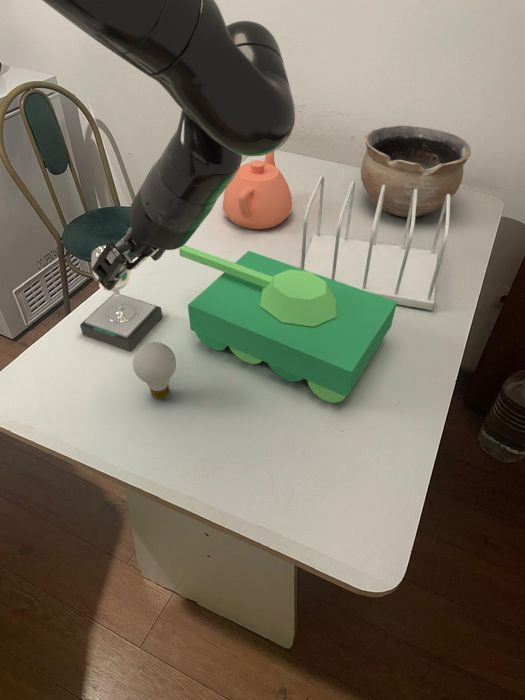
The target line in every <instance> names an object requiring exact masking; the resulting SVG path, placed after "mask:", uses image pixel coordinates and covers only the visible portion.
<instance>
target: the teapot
mask: <svg viewBox="0 0 525 700" xmlns="http://www.w3.org/2000/svg"><path fill="white" fill-rule="evenodd" d="M223 193H224V194H223V198H222V199H223V200H222V210H223V212H224V214H225V216H226V217H227V218H228V219H229V220H230V221H231V222H232V223H233V224H234V225H236V226H240V227H242V228H245V229H246V228H247V229H253V230H266V229H271V228H274V227H276V226H278V225H279V224H281V223H282V222H283V221H284V220H286V218H288V216H289V215H290V213H291V211H292V208H293V199H292V193H291V190H290V187H289V184H288V182H287V180H286V178H285V177H284V174H283V173H282V172H281V170H280V169H279V168H278V167H277V166H276V161H275V151H274V152H272V153H269V154H266V155H265V158H264V160H260V159H259V160H258V159H257V160H252V161H250V162H247V163H244V164H241V165H240V168H239V170H238V172H237V174H236V175H235V177H234V178H233V180H232V181H231V182H230V184H229V185H228V186H227V187H226V189H225V190H224V192H223Z"/></svg>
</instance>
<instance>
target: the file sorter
mask: <svg viewBox="0 0 525 700" xmlns="http://www.w3.org/2000/svg"><path fill="white" fill-rule="evenodd" d="M385 186H386V185H382V189H381V193H380V197H379V201H378V205H376V209H375V212H374V213H375V214H374V218H373V223H372V228H371V233H370V239H369V240H363V239H356V238H351V237H349V232H350V231H349V230H350V225H351V224H350V223H351V219H352V218H351V216H352V210H353V203H354V198H355V197H354V196H355V189H356V181H355V180H351V182H350V184H349V187H348V190H347V193H346V196H345V197H344V198H345V199H344V200H343V201H344V202H343V204H342V207H341V210H340V213H339V218H338V222H337V227H336V235H332V234H325V233H321V227H322V226H321V224H322V212H323V201H324V187H325V176H324V175H320V176H319V177H318V179H317V182H316V184H315V186H314V188H313V190H312V193H311V195H310V197H309V200H308V202H307V205H306V207H305V212H304V215H303V216H304V217H303V225H302V244H301V258H300V259H301V261H300V267H299V268H300V269H303V270H306V271H309V272H312V273H315V274H318V275H320V276H323V277H326V278H329V279H332V280H335V281H338V282H341V283H344V284H346V285H349V286H352V287H355V288H358V289H361V290H364V291H367V292H370V293H372V294H375V295H378V296H381V297H384V298H387V299H390V300H393V301H396V302H397V305H401V306H404V307H405V306H406V307H410V308H411V307H412V308H416V309H418V308H419V309H424V310H428V311H433V309H434V306H435V300H436V287H437V286H436V285H437V278H438V274H439V271H440V267H441V264H442V261H443V260H442V259H443V256H444V252H445V249H446V245H447V241H448V237H449V232H450V216H451V198H450V194H447V195H446V198H445V201H444V205H442V208H441V212H440V215H439V220H438V224H437V227H436V231H435V235H434V239H433V243H432V246H431V250H430V249H425V248H424V249H423V248H417V247H411V245H412V241H413V235H414V231H415V225H416V224H415V223H416V217H415V214H416V203H417V189H414V191H413V195H412V199H411V204H410V209H409V214H408V217H407V218H406V223H405V229H404V234H403V238H402V244H401V245H396V244H389V243H384V242H377V238H378V233H379V226H380V221H381V214H382V211H383V210H382V204H383V199H384V193H385ZM319 188H320V190H319ZM318 190H319V204H318V217H317V228H316V229H317V231H316V232H314V233H313V235H312V238H311V240H310V243H309V245H308V248H307V251H306V247H307V233H308V229H307V228H308V220H309V214H310V209H311V206H312V204H313V202H314V200H315V197H316V195H317V192H318ZM348 203H349V204H348ZM347 207H348V213H347V219H346V225H345V226H346V227H345V234H344V237H343V236H341V229H342V223H343V219H344V215H345V212H346V209H347ZM411 214H412V217H411ZM444 216H445V221H444V234H443V238H442V243H441V246H440V251H439V253H438V251H437V250H436V246H437V243H438V240H439V235H440V231H441V228H442V224H443V220H444ZM408 233H409V234H408Z"/></svg>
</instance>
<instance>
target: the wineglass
mask: <svg viewBox="0 0 525 700" xmlns="http://www.w3.org/2000/svg"><path fill="white" fill-rule="evenodd" d="M106 245H107V244H103V245H101V246H97V247H96V248H95V249H93V250H92V252H91V255H90V268H91V274H92V275H91V276H92V278H93V281H94V282H95V284H96V286H98V287H99V288H100V289H102V290H104V291H106V292H112V295H113V294H114V296H115V297H116V300H117V304H118V306H116V307H114V308H112V309H111V310H110V311H109V312H108V318H109V320H111V321H113V322H116V323H122V322H126V321H128V320H130V319H131V318H133V316H134V314H135V310H134V309H133V308H132V307H130V306H128V305H121V304H120V300H119V294H120V290H122V289H124V288H125V287H126V286H127V285H128V284H129V282H130V281H131V276H132V272H131V271H132V270H128V271H127V272H126V273H124V274H123V275H122V276H121V278H120V279H119V281H118V282H117V284H116V285H115V287H114V288H113V289H111V290H108V289H107V288H106V289H105V288H104V287H103V286H102V284H101V283H100V282H99V281H98V279H99V277H98V276H97V274H96V273H94V271H93V270H92V268H93V266H94V265H95V263H96V261H97V260H98V258H99V256H100V255H101V253H102V251H103V250H104V248H105V247H106ZM122 267H123V266H122ZM122 267H121V268H122Z"/></svg>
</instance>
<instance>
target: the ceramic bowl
mask: <svg viewBox="0 0 525 700" xmlns="http://www.w3.org/2000/svg"><path fill="white" fill-rule="evenodd" d="M363 141H364V143H365V146H366V151H365V154H364V156H363V158H362V161H361V167H360V180H361V182H362V185H363V187H364V190H365V192H366V193H367V195H368V197H369V198H370V199H371V201H372V202H373V203H374V205H376V206H377V205H378V201H379V197H380V193H381V189H382V185H386V186H385V193H384V199H383V204H382V210H381V211H384V212H386V213H387V214H390V215H392V216H397V217H401V218H408V214H409V209H410V204H411V199H412V195H413V191H414V189H417V203H416V214H415V218H419V217H423V216H426V215H428V214H430V213H432V212H434V211H436V210H438V209H440V208H441V207H443V205H444V201H445V198H446V195H447V194H450V199H451V198H452V197H454V195H456V193H457V192H458V190H459V188H460V186H461V183H462V181H463V177H464V165H465V164H466V162H467V161H468V160H469V158H470V157H471V154H472V151H471V145H469V143H468V142H467V140H465V139H463V138H461V137H460V136H458V135H456V134H453V133H450V132H447V131H445V130H439V129H436V128H435V129H434V128H428V127H421V126H412V125H395V126H382V127H380V128H377V129H372V130H371V131H370V132H368V133H367V134H366V135H365V136H364V139H363ZM411 218H412V214H411Z"/></svg>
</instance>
